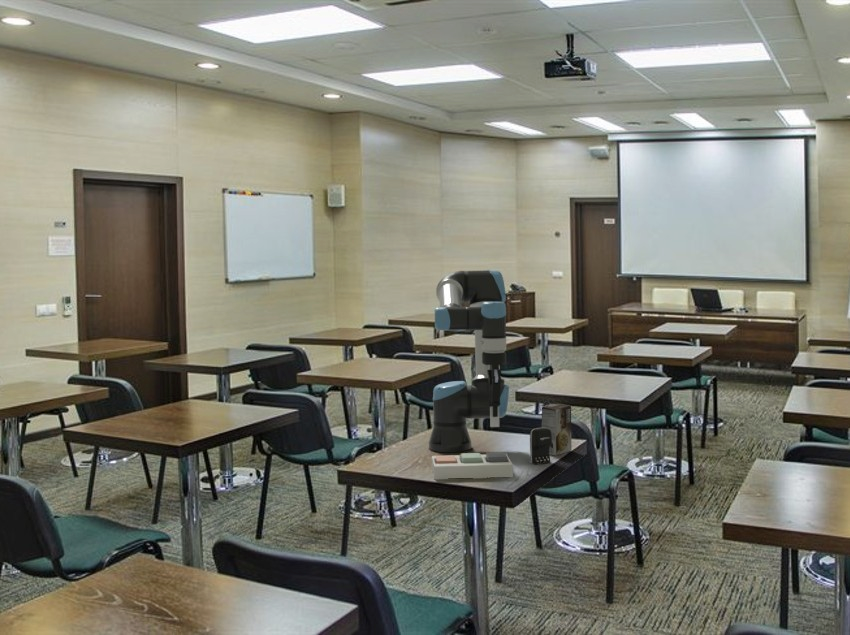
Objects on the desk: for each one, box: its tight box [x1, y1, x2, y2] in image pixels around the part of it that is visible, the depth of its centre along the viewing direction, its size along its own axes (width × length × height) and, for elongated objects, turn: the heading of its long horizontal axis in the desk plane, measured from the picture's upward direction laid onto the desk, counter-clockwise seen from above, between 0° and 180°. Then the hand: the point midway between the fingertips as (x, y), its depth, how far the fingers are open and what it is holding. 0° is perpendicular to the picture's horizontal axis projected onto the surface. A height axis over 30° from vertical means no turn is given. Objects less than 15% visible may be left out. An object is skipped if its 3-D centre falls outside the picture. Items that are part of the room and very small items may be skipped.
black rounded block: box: [529, 427, 552, 465], centre depth 277 cm, size 7×4×11 cm, turn 119°
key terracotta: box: [435, 455, 456, 464], centre depth 266 cm, size 6×6×3 cm
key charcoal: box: [485, 451, 509, 462], centre depth 266 cm, size 6×6×3 cm
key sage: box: [460, 452, 482, 463], centre depth 266 cm, size 6×6×3 cm
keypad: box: [431, 453, 514, 480], centre depth 266 cm, size 14×24×4 cm, turn 93°
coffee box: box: [541, 402, 573, 456], centre depth 292 cm, size 9×6×16 cm
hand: (494, 426), depth 265 cm, fingers closed
